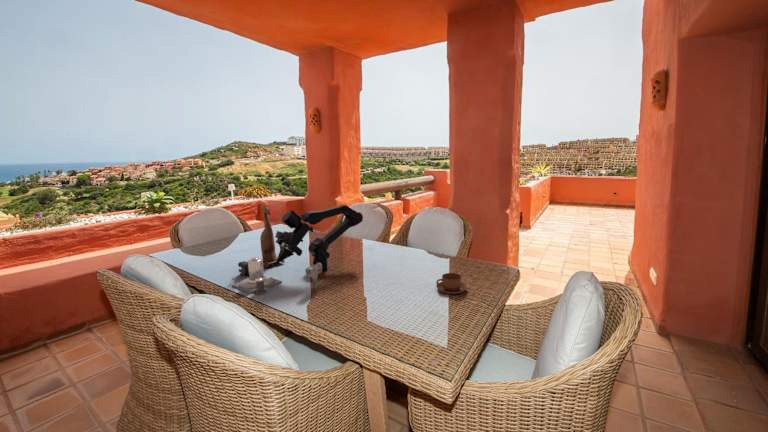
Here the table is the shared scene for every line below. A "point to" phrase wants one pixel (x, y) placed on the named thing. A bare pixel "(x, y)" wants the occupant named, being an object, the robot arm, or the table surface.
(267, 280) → the turntable
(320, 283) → the table surface
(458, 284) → the cup and saucer
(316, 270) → the mechanical component
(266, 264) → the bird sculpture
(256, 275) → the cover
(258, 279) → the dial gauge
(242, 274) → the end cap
